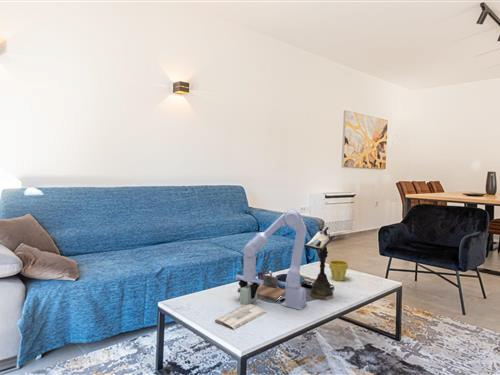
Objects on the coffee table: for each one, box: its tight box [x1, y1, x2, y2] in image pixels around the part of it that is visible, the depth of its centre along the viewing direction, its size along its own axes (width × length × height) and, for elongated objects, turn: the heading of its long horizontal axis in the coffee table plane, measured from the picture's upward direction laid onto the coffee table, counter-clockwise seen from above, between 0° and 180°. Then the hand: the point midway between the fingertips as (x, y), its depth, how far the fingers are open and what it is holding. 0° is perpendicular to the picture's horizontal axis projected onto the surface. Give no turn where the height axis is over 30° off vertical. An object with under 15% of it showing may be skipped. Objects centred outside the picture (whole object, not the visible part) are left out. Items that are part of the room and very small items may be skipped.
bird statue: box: [304, 226, 336, 301], centre depth 176 cm, size 17×13×35 cm
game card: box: [256, 270, 273, 280], centre depth 196 cm, size 7×5×9 cm
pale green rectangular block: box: [239, 282, 258, 305], centre depth 170 cm, size 4×9×7 cm, turn 148°
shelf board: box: [237, 274, 285, 302], centre depth 182 cm, size 22×13×7 cm, turn 58°
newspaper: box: [214, 303, 268, 331], centre depth 153 cm, size 23×12×2 cm, turn 141°
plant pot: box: [328, 259, 349, 282], centre depth 204 cm, size 10×10×10 cm
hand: (248, 297), depth 170 cm, fingers closed on pale green rectangular block, 4 cm apart
